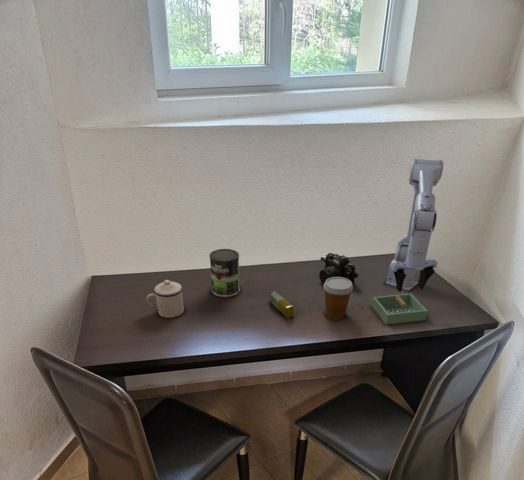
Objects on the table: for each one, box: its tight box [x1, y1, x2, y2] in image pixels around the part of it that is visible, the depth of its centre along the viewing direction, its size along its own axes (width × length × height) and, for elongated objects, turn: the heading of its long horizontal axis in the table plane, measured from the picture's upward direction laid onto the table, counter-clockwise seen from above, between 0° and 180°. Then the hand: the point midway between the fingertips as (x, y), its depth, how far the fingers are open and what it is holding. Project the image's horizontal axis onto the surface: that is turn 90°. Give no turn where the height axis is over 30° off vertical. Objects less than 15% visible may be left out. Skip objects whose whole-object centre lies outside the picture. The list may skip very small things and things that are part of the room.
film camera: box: [318, 252, 359, 287], centre depth 172 cm, size 18×12×10 cm
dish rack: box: [384, 294, 413, 313], centre depth 154 cm, size 8×7×5 cm
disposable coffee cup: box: [322, 277, 354, 321], centre depth 152 cm, size 10×10×12 cm
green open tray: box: [371, 292, 428, 325], centre depth 155 cm, size 14×12×4 cm
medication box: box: [269, 290, 295, 318], centre depth 157 cm, size 12×3×4 cm, turn 28°
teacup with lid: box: [146, 279, 185, 319], centre depth 153 cm, size 12×9×12 cm
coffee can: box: [209, 248, 241, 298], centre depth 165 cm, size 10×10×14 cm
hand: (409, 288), depth 150 cm, fingers open, 7 cm apart
